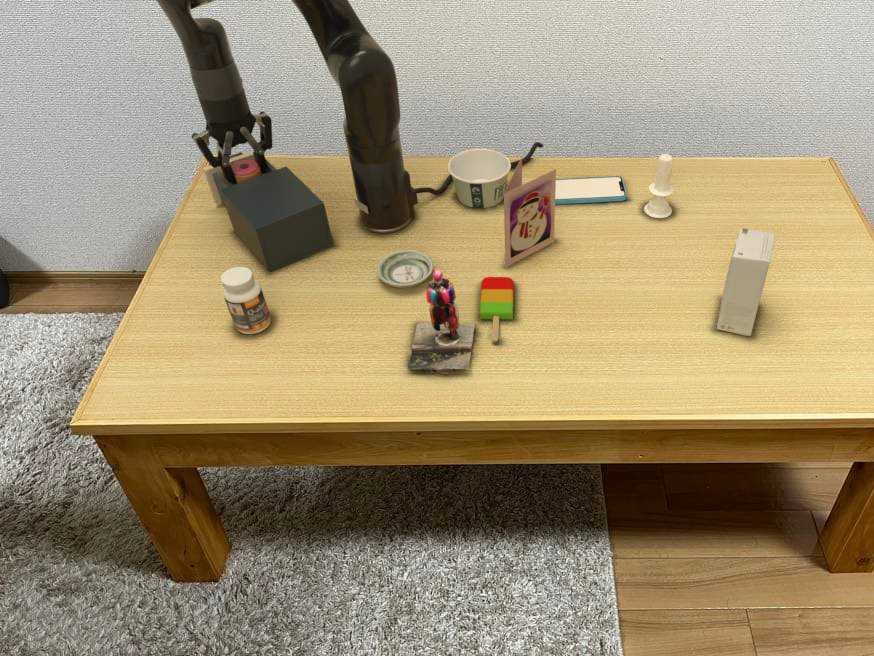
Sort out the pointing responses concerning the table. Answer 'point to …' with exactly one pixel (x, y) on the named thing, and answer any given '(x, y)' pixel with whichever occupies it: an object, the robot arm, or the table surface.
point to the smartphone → (590, 190)
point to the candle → (661, 189)
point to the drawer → (217, 177)
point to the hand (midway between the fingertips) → (247, 176)
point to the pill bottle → (245, 300)
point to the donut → (246, 170)
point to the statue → (442, 332)
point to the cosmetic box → (745, 281)
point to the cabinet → (278, 218)
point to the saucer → (405, 268)
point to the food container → (479, 176)
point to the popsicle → (496, 301)
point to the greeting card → (528, 214)
